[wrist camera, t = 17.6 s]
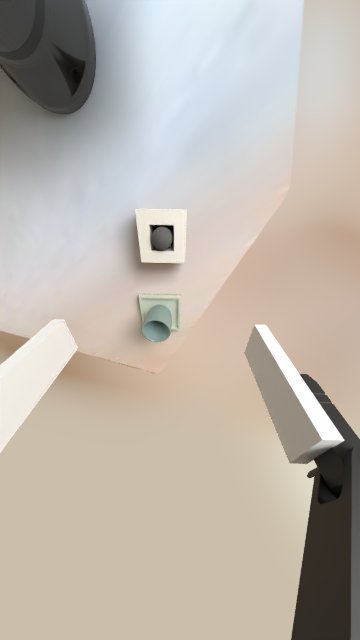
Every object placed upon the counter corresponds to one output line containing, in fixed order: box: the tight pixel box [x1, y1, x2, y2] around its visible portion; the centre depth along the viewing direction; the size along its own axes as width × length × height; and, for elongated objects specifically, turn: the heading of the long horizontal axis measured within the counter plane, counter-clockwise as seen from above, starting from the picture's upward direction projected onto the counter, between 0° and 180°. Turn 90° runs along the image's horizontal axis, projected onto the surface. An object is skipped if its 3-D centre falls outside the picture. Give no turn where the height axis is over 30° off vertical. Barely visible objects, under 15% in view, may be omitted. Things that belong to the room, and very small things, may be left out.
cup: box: [141, 304, 172, 342], centre depth 47 cm, size 8×8×10 cm
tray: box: [139, 294, 181, 330], centre depth 51 cm, size 12×12×2 cm
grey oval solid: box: [151, 225, 173, 250], centre depth 36 cm, size 4×4×6 cm
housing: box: [135, 209, 187, 263], centre depth 36 cm, size 10×10×6 cm
